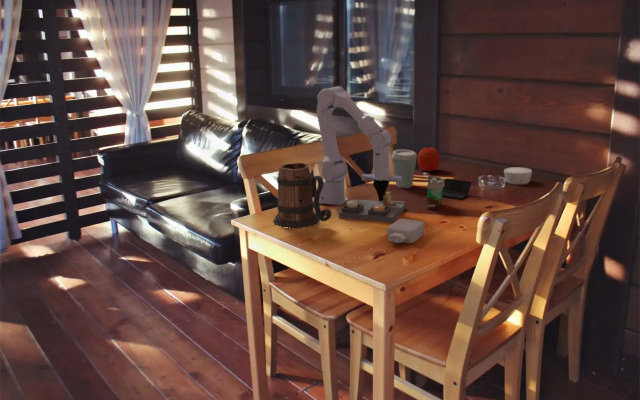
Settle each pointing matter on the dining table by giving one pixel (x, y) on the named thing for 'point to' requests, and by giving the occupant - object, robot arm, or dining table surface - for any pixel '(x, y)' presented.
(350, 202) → the cream button
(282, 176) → the tankard
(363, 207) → the control panel
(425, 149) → the apple
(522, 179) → the ramekin
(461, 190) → the handheld gaming console
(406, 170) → the disposable coffee cup
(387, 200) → the tall mustard sponge block
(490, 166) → the dining table surface
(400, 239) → the grey plastic bottle
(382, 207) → the terracotta button
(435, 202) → the food container
